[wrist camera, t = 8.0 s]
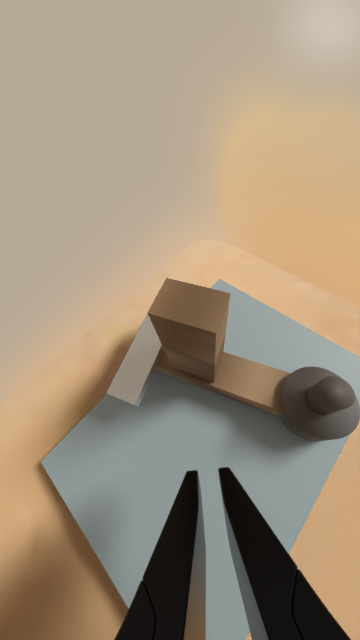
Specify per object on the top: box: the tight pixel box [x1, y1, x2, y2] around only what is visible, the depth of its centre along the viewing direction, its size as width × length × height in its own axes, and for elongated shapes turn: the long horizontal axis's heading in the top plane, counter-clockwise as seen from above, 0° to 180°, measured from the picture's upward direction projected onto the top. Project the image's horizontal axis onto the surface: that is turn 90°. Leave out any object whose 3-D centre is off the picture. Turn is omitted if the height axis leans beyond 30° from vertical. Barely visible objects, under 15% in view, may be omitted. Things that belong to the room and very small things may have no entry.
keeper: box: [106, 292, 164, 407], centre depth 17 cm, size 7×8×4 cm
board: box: [41, 279, 360, 640], centre depth 16 cm, size 20×14×1 cm
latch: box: [148, 278, 360, 441], centre depth 12 cm, size 14×4×8 cm, turn 68°
